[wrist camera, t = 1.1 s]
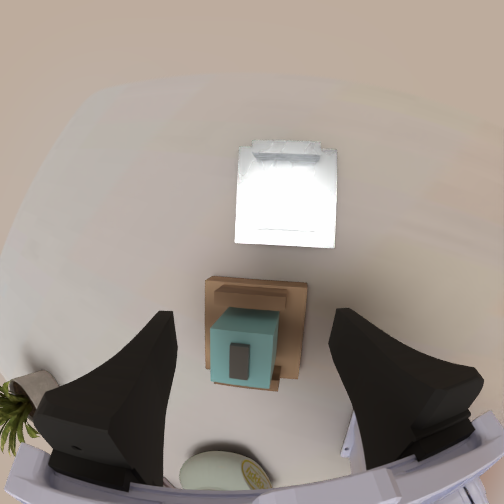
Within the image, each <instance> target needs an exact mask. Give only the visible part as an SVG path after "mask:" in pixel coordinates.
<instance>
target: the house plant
mask: <svg viewBox="0 0 504 504" xmlns="http://www.w3.org/2000/svg"><path fill="white" fill-rule="evenodd" d="M9 382H10V383H9ZM8 385H9V386H10V391H9V390H8ZM57 387H59V385H58V383H57V382H56V380H55V379H54V378H53V376H52V375H51V374H50V373H48V372H47V371H45V370H41V371H38V372H35V373H31V374H28V375H25V376H21V377H18V378H14V379H11V380H10V381H8V382H6V383H4V384H3V387H1V386H0V391H1V392H3V393H4V394H2V393H0V396H2V397H0V407H3V408H0V425H3V424H4V423H5V424H4V425H3V427H2V429H1V431H0V434H1V432H2V430H3V428H4V426H5V425H6V423H7V422H8V420H9V419H10V420H9V422H8V423H7V425H6V426H5V428H4V430H3V432H2V437H1V448H2V449H1V450H2V452H3V449H4V444H5V443H6V440H7V436H8V433H9V432H10V430H11V432H10V436H9V449H8V450H9V454H10V448H11V450H12V453H13V454H14V456H15V457H16V453H15V446H16V444H15V443H16V433H17V435H18V439H19V441H20V443H21V442H24V443H25V441H24V437H23V432H22V430H23V429H22V428H23V422H24V423H25V426H26V429H27V432H28V434H29V435H30V437H32V438H36V437H39V436H37V435H36V434H40V433H38V432H37V431H36V430H35V429H33V428H32V427H31V426H30V425H29V424H28V426H29V427H28V426H27V425H26V421H27V418H28V419H29V420H31V421H32V422H33V420H32V419H33V416H34V413H35V411H36V409H37V407H38V405H39V403H40V401H41V399H42V397H43V395H44V393H45V392H46V391H49V390H52V389H55V388H57ZM2 388H3V389H2ZM8 391H9V392H11V394H10V393H8ZM6 397H7V398H6ZM13 447H14V449H13Z"/></svg>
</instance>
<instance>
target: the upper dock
mask: <svg viewBox="0 0 504 504" xmlns="http://www.w3.org/2000/svg"><path fill="white" fill-rule="evenodd" d="M306 298H307V283H304V282H288V281H272V280H258V279H244V278H231V277H219V276H212V277H210V278H208V279H207V280H205V361H206V369H210V328H211V327H212V326H213V324H214V323H215V322H216V321H217V320H218V319H219V318H220V317H221V315H222V314H223V313H224V312H225V311H226V310H227V309H228V307H235V308H245V309H257V310H269V311H279V324H278V338H277V350H276V359H275V364H274V369H273V374H272V379H271V383H270V388H269V389H265V388H256V387H248V386H240V385H232V384H226V383H219V382H214V384H220V385H227V386H234V387H241V388H249V389H258V390H267V391H278V387H279V381H280V378H287V379H298V374H299V366H300V358H301V349H302V340H303V330H304V320H305V310H306Z"/></svg>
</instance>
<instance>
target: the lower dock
mask: <svg viewBox="0 0 504 504" xmlns="http://www.w3.org/2000/svg"><path fill="white" fill-rule="evenodd" d="M336 200H337V149H323V148H321V142H315V141H292V140H252V146H239V161H238V181H237V203H236V227H235V243H249V244H268V245H286V246H303V247H320V248H334V244H335V226H336Z"/></svg>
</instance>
